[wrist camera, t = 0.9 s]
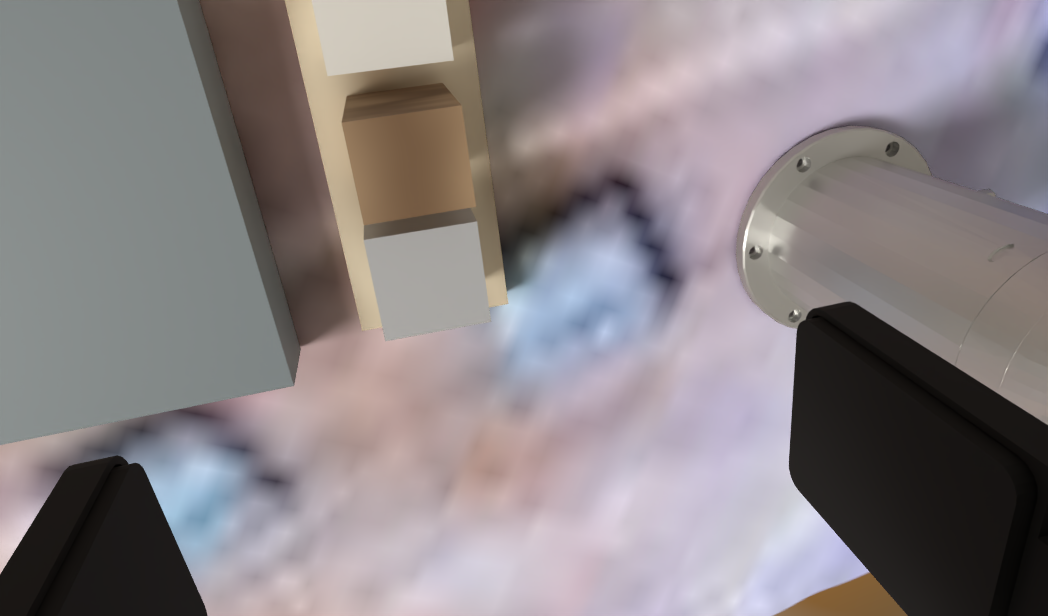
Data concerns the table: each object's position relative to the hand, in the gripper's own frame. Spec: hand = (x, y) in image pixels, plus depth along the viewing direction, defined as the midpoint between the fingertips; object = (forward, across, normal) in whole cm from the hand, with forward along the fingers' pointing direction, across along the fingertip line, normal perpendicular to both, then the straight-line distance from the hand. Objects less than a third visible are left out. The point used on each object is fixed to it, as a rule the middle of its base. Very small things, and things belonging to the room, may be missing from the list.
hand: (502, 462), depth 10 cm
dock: (+28, +15, 0) cm, 32 cm away
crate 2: (+26, 0, +6) cm, 27 cm away
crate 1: (+26, 0, -6) cm, 27 cm away
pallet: (+28, 0, 0) cm, 29 cm away
